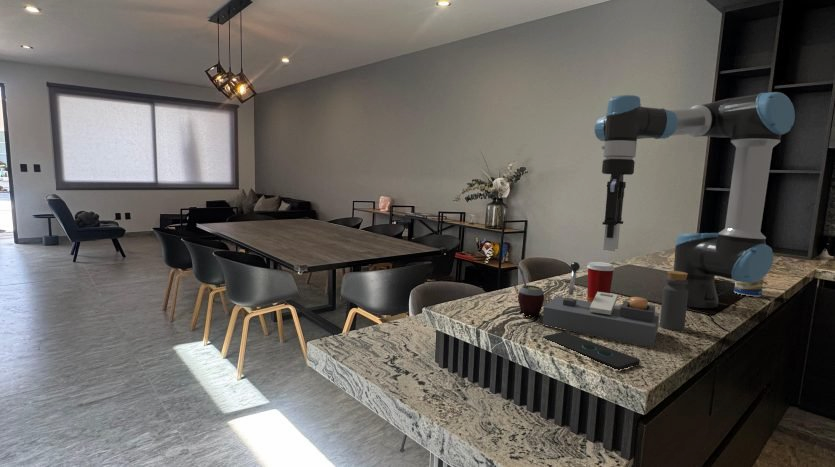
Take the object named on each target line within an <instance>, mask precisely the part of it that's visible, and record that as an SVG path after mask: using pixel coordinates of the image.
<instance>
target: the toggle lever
mask: <svg viewBox="0 0 835 467" xmlns="http://www.w3.org/2000/svg"><path fill="white" fill-rule="evenodd" d="M580 267H581V266H580V264H579V263H578V262H577V261H574V262H572V263H571V264H570V270H571V276H570V281H569V282H570V283H569V286H568V287H569V288H568V295H571V296H573V295H574V291H575V285H576V278H577V271H579V270H580Z"/></svg>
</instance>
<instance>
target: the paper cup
mask: <svg viewBox="0 0 835 467" xmlns="http://www.w3.org/2000/svg"><path fill="white" fill-rule="evenodd" d="M586 268H587V289H586V290H587V295H586V298H587V299H586V301H588V302H593V300H594V298H595V296H596V294H597V292H603V293H610V294H611V288H612V282H613V277H614V276H613V275H614V271H615V268H614V264H612V263H608V262H602V261H592V262H591V261H590V262H588V264H587V265H586Z"/></svg>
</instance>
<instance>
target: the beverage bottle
mask: <svg viewBox="0 0 835 467" xmlns="http://www.w3.org/2000/svg"><path fill="white" fill-rule="evenodd" d="M766 243H767V242H766V241H765V244H766ZM766 245H767V244H766ZM764 278H765V276H764V277H763V278H762V279H761V280H759V281H757V282H753V283H748V282H742V281H735V280H734V281H735V282H734V288H733V292H734V293H735V294H736V293H737V295H739V294H741V295H740V296H742V295H746V296H745V297H748V296H753V297H752V298H759V297H761V296H762V294H763V285H764Z"/></svg>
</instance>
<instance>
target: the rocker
mask: <svg viewBox="0 0 835 467" xmlns="http://www.w3.org/2000/svg"><path fill="white" fill-rule="evenodd" d="M617 300H618V294H615V293H611V292H610V293H603V292H597V294H596V296H595V298H594V300H593V302H592V304H591V306H590V312H596V313H601V314H607V315H611V313H612V311H613V308H614V306H616V303H617Z"/></svg>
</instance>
